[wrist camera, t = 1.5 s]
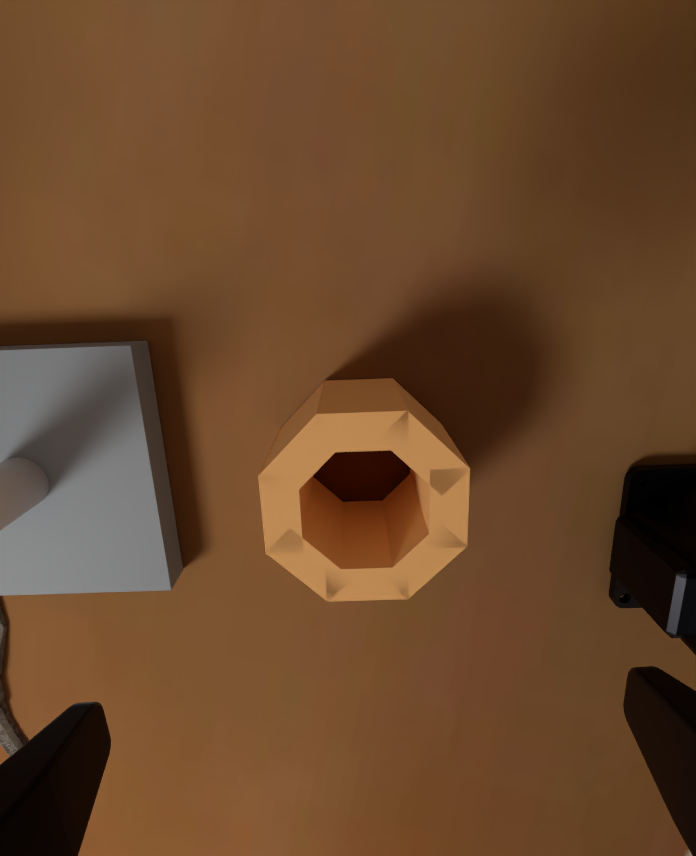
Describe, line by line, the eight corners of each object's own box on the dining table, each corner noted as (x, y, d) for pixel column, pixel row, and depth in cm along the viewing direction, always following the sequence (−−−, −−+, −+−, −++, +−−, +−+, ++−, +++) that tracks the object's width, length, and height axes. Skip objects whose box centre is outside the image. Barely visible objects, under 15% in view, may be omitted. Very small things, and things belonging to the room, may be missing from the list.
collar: (441, 376, 19) (473, 407, 14) (438, 524, 21) (465, 597, 16) (276, 381, 19) (251, 415, 14) (288, 529, 21) (270, 603, 16)
